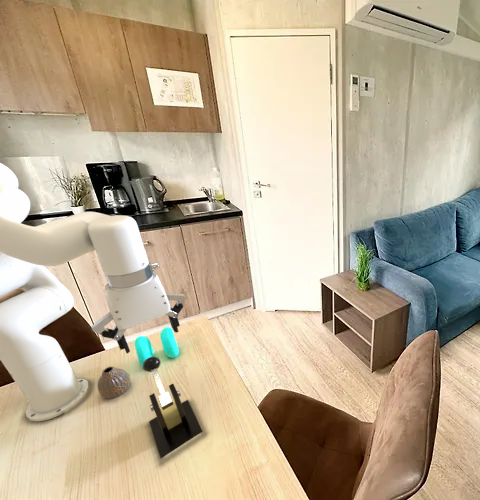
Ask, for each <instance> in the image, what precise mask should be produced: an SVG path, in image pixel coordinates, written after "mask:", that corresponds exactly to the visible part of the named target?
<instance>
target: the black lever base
mask: <svg viewBox="0 0 480 500" xmlns="http://www.w3.org/2000/svg"><path fill="white" fill-rule="evenodd" d="M168 388H169V390H170V391H169V392H170V395H171V397H172V400H173V402H175V405H176V408H177V410H178V413H179V415H180V418H181V421H182V422H181V423H180V424H178V425H176V426H175V427H173V428H171V429H170V430H168V428H167V425H166V423H165V420H164V417H163V414H162V412H161V406H160V403H159V401H158V398H157V397H156V394H155V393H152V394H150V395H148V397H149V400H150V402H151V404H150V405H149V408H150V410H151V412H153V411H154V413H155V416H156V417H154V418H152V419H151V420H150V419H149V421H148V424H149V426H150V429H151V433H152V436H153V439H154V442H155V445H156V449H157V452H158V455H159V459H160V460H161V459H163V458H164V457H166V456H168V455H169V454H170V453H172V452H174V451H175V450H177V449H178V448H180V447H181V446H183V445H184V444H186V443H188V442H189V441H191V440H192V439H194V438H195V437H196V436H198V435H200V434H201V433H203V429H202V427H201V424H200V423H199V421H198V418H197V417H196V414H195V412H194V410H193V408H192V406H191V404H190V401H189V399H186V400H184V401H181V398H180V397H181V396H182V395H181V392H180V390H178V389H177V388H176V386H175V384H174V383H171V384H169V385H168Z"/></svg>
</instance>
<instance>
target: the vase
mask: <svg viewBox="0 0 480 500" xmlns="http://www.w3.org/2000/svg"><path fill="white" fill-rule="evenodd" d="M96 387H97V391H98V394H99V395H100V396H101V397H102V398H104V399H108V400H112V399H115V398H118V397H120V396H122V395H123V394H125V393H126V392H128V390H129V389H130V387H131V378H130V375H129V373H128V372H127V371H126V370H124V369H122V368H117V367H114V366H107V367H105V368H104V369H103V370H102V372H101V375H100V377H99V379H98V380H97V385H96Z"/></svg>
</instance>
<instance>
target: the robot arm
mask: <svg viewBox="0 0 480 500" xmlns="http://www.w3.org/2000/svg"><path fill="white" fill-rule="evenodd" d="M19 187H20V184H19V179H18V177H17V175H16V174H15V173H14V171H12V169H10V167H8V166H6V165H5V164H3V163H1V162H0V298H1V297H3V296H5V295H7V294H10V293H12V292H14V291H16V290H18V289H21V290H22V291H23V292H21V293H20V294H17V295H15V296H13V297H11V298H8V299H6V300H4V301H2V302H0V361H1V363H2V365H3V366H4V367H5V369H6V370H7V371H8V373H9V375H10V376H11V378H12V380H13V381H14V382H15V384H16V385H17V387H18V389H19V390H20V391H21V393H22V394H23V396H24V398H25V399H26V401H27V402H28V405H27V407H26V408H25V410H24V411H25V412H24V413H25V416H26V418H27V419H28V420H29V421H31V422H43V421H48V420H52V419H54V418H56V417H59V416H61V415H63V414H65V410H67V408H70V407H71V406H72V405H75V403H77V402H78V401H79V400H80V399H81V398H82V397H83V396H84V395H85V394H86V392H87V390H88V389H89V381H88V380H87V379H85V378H82V377H81V378H78V376H77V375H76V373H75V371H74V369H73V368H72V366H71V364H70V362H69V360H68V358H67V356H66V355H65V353H64V351H63V349H62V347H61V345H60V344H59V342H58V341H57V340H56V338H54V337H52V336H50V335H47V334H40V331H41V330H43V328H45V327H47V326H48V325H50V324H51V323H53V322H55V321H57V320H58V319H59V318H61V317H62V316H64V315H66V314H67V313H68V312H70V311H71V310H72V309H73V307H74V305H75V298H74V297H73V294H72V292H71V291H70V290H69V289H68V288H67V287H66V286H65V285H64V284H63V283H62V282H61V280H59V279H58V278H57V277H56V276H55V275H54V274H53V273H52V272H51V271H50V270H49V269H48V268H47V267H57V266H61V265H64V264H66V263H69V262H71V261H73V260H75V259H78V258H80V257H83V256H84V255H86V254H88V253H92V252H94V251H95V253H96V255H97V258H98V261H99V263H100V266H101V268H102V271H103V273H104V276H105V278H106V281H107V283H106V284H105V285H104V293H105V298H106V302H107V306H108V309H109V312H107V313H106V314H105V315H103V316H102V317H101V318H100V319H98V320H97V321H95V322H94V323H93V324H92V325H91V330H92V332H94V333H95V334H98V335H100V336H101V337H102V338H106V339H111V340H114V341H116V342H117V345H118V347H119V350H120V351H122V350H124V351H125V354H129V353H130V352H131V350H130V347H129V344H128V342H127V340H126V336H125V333H126V331H127V330H128V329H132V328H134V327H137V326H140V325H142V324H145V323H148V322H151V321H153V320H155V319H158V318H161V317H164V316H167V317H168V319H169V324H170V328H171V329H172V330H173V333H179V328H178V327H180V326H181V325H180V322H179V318H178V317H179V314H180V312H181V311H182V309H183V308H184V305H185V302H186V299H187V297H186V295H185V294H184V293H171V292H166V290H165V288H164V286H163V284H162V282H161V280H160V277H159V276H158V274H157V272H155V270H157V269H159V268H160V265H159V263H158V262H151V261H149V258H148V255H147V251H146V248H145V245H144V242H143V239H142V236H141V235H142V234H141V232H140V228H139V226H138V223H137V221H136V220H135V219H134V218H133V217H132V216H130V215H122V214H117V215H116V214H115V215H109V214H105V213H100V212H96V211H83V212H79V213H76V214H71V215H69V216H65V217H62V218H58V219H56V220H51V221H49V222H45V223H42V224H39V225H36V226H32V225H29V224H24V223H22V222H24V220H26V218H28V216H29V214H30V210H31V199H30V197H29V196H28V195H27V194H26V193H25V192H24V191H23V190H21V189H20V188H19ZM170 301H176V302H175V304H174V306H173V307H171V304H170ZM112 321H113V323H114V324H115V326H114V328H112V329H111V328H109V327H108V328H107V327H105V326H107V325H108V324H110V323H111V322H112Z"/></svg>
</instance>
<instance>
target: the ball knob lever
mask: <svg viewBox="0 0 480 500" xmlns="http://www.w3.org/2000/svg"><path fill="white" fill-rule="evenodd" d="M160 366H161V359H160V358H159V357H158V356H155V357H154V356H153V357H149V358H147V359H146V360H145V361H144V363H143V367H142V369H143V371H145V372H147V373H151V374H152V377H153V380H154V382H155V385H156V388H157V390H158V392H159V395H158V396H157V400H159V401H158V402H159V405H160V407H161V408H162V409H163V410H165V409H166V408H168V407H170V406H172V405H173V402H174V400H173V397H172V395H171V392H170V391H169V390H168V391H167V390H165V389H166V388H165V386H164V384H163V382H162V378H161V376H160V374H159V371H158V369H159V368H160Z"/></svg>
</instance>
